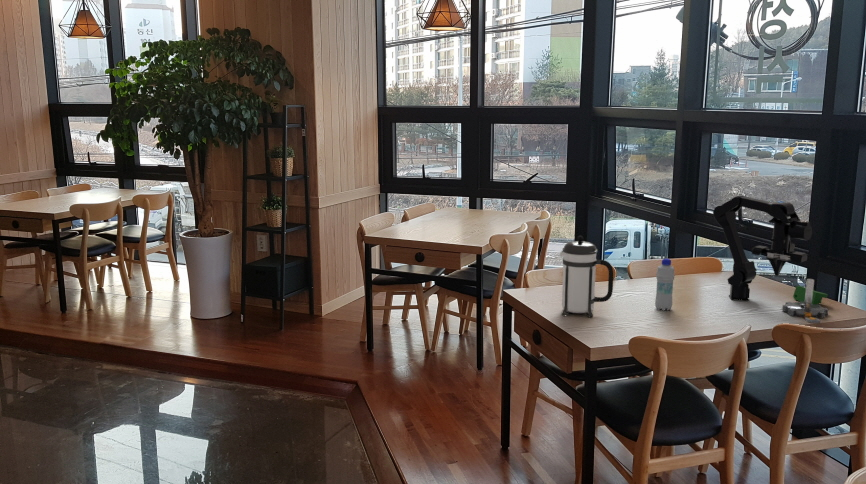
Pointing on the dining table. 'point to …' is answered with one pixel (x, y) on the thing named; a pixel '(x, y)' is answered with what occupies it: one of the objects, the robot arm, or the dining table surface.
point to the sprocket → (806, 305)
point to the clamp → (800, 295)
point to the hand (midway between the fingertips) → (776, 275)
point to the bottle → (664, 285)
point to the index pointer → (812, 320)
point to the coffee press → (581, 277)
